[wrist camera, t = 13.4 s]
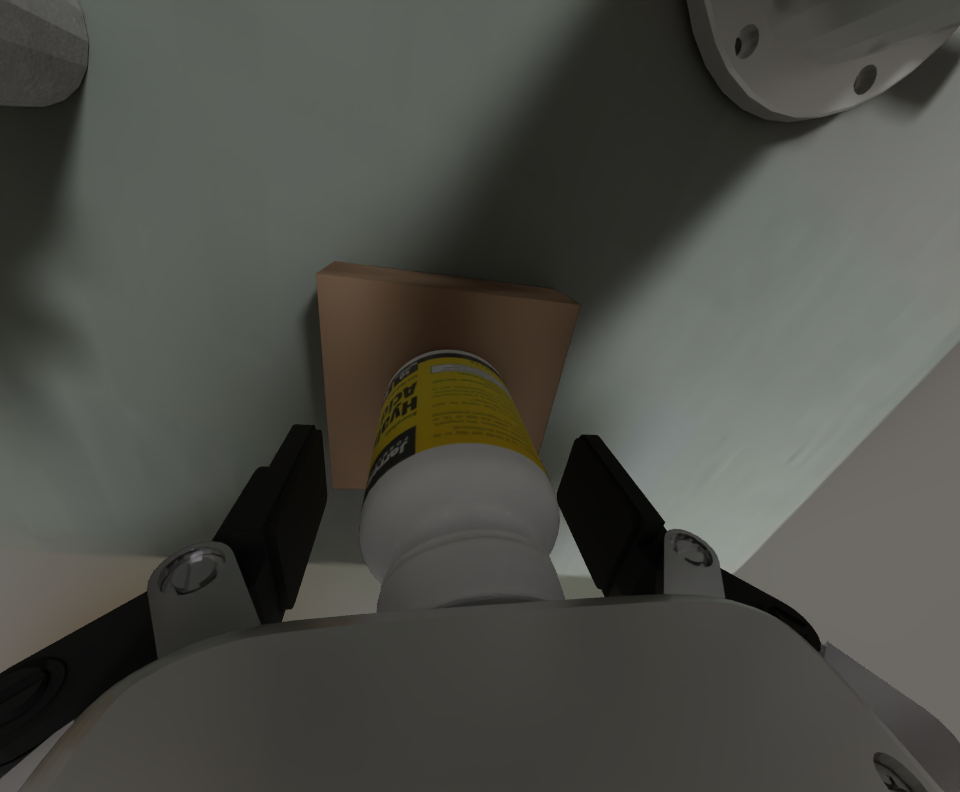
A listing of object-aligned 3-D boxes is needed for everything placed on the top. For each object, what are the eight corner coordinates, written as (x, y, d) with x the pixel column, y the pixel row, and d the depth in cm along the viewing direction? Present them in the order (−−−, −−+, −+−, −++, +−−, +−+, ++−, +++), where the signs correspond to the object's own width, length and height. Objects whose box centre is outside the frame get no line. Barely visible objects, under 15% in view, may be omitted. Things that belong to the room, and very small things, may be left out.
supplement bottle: (399, 329, 13) (367, 550, 5) (524, 364, 15) (665, 577, 6) (370, 440, 15) (314, 724, 7) (481, 460, 17) (544, 712, 9)
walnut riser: (555, 289, 16) (580, 305, 14) (515, 454, 21) (528, 488, 19) (334, 261, 14) (315, 273, 12) (344, 450, 19) (332, 488, 16)
